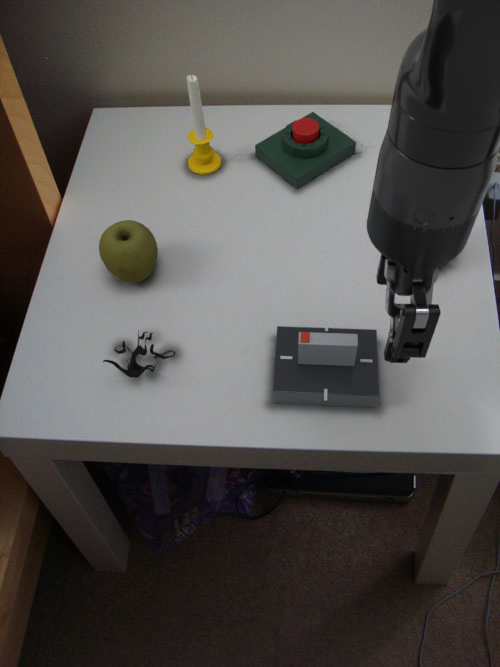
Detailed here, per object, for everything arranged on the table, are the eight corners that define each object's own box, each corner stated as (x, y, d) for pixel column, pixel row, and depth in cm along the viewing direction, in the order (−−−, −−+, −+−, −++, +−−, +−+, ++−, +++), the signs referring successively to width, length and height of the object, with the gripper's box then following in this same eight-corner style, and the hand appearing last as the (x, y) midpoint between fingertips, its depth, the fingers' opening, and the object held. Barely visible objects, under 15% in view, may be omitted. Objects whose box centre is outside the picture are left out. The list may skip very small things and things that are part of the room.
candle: (223, 152, 95) (212, 62, 82) (219, 175, 93) (207, 85, 80) (191, 152, 96) (175, 62, 83) (186, 174, 93) (169, 85, 80)
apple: (154, 241, 86) (144, 205, 80) (169, 282, 82) (160, 247, 76) (102, 257, 85) (88, 222, 79) (115, 299, 81) (101, 265, 75)
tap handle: (354, 354, 70) (357, 332, 66) (354, 366, 69) (358, 344, 65) (298, 352, 71) (299, 330, 67) (298, 364, 70) (298, 342, 66)
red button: (306, 123, 93) (306, 114, 91) (324, 136, 91) (324, 126, 89) (286, 135, 91) (286, 125, 90) (304, 148, 90) (304, 138, 88)
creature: (123, 338, 78) (102, 384, 73) (116, 308, 75) (93, 353, 69) (181, 345, 77) (164, 391, 72) (177, 314, 74) (158, 361, 68)
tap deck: (373, 337, 75) (376, 322, 72) (376, 414, 69) (379, 402, 67) (277, 333, 76) (277, 319, 73) (273, 409, 70) (272, 397, 68)
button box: (312, 122, 98) (313, 101, 95) (355, 153, 94) (357, 132, 90) (255, 156, 95) (254, 135, 91) (296, 189, 90) (297, 168, 87)
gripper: (503, 265, 37) (443, 387, 51) (467, 119, 45) (423, 259, 59) (382, 265, 38) (354, 386, 51) (367, 120, 46) (346, 258, 59)
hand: (391, 318), depth 55 cm, fingers open, 8 cm apart
